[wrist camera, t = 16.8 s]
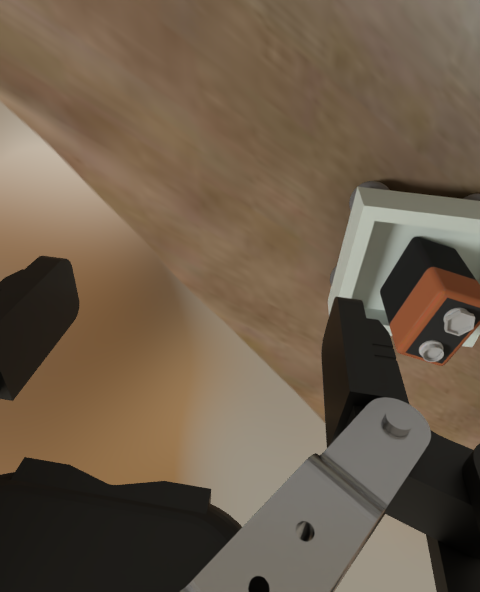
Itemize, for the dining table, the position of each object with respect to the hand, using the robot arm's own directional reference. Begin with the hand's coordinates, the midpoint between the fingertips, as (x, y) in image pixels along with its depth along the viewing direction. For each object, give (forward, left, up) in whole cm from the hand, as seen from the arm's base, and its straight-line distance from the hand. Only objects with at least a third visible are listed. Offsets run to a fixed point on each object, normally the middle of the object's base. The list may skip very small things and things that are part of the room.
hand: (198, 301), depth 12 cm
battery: (+16, -11, -24) cm, 31 cm away
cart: (+16, -11, -30) cm, 36 cm away
